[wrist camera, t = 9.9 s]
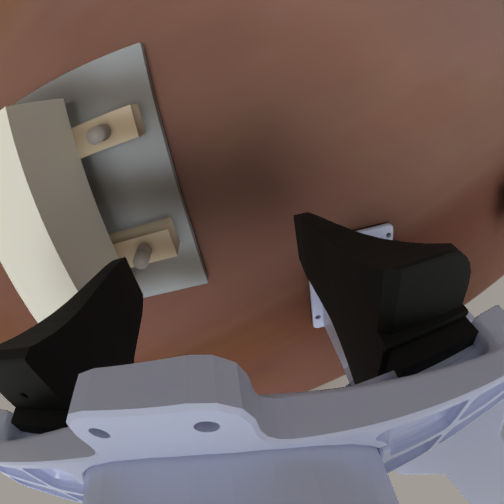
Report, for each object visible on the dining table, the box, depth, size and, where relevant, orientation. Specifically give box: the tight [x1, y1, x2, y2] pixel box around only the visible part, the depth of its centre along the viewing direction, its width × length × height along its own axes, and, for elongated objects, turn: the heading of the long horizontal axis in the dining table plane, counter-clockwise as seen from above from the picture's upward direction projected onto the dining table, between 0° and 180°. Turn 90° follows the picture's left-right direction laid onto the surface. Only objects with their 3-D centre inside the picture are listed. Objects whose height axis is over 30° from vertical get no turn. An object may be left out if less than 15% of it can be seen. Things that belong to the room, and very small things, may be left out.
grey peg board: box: [13, 43, 208, 298], centre depth 17 cm, size 18×14×4 cm
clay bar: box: [0, 98, 119, 323], centre depth 14 cm, size 14×4×6 cm, turn 11°
